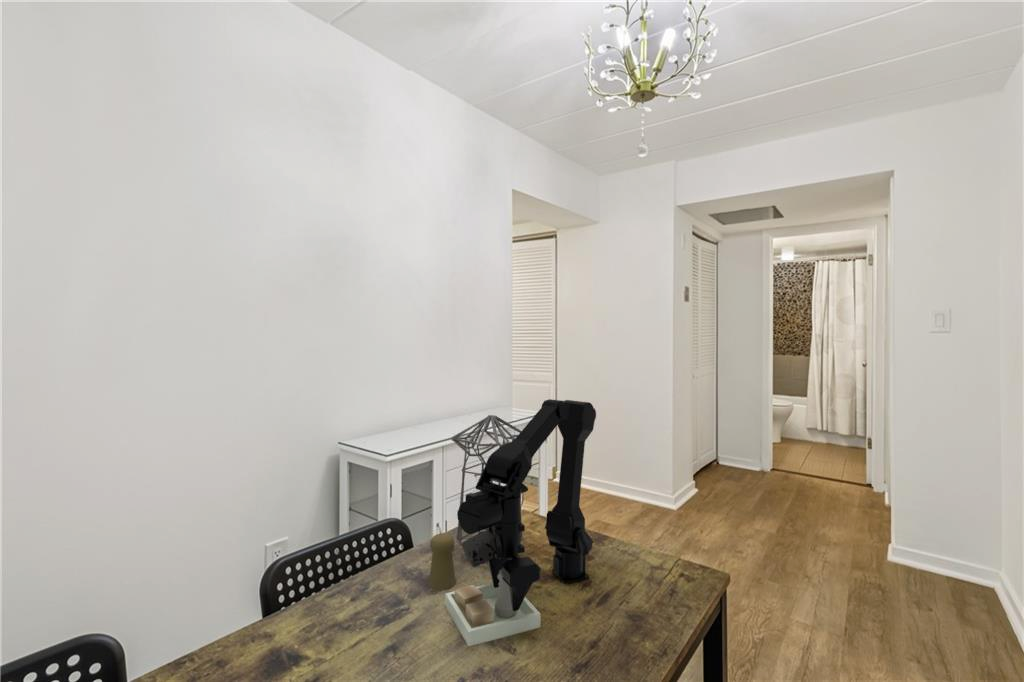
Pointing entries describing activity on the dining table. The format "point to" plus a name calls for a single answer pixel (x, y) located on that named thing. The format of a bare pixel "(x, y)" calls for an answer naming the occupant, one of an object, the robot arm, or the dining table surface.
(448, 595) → the tray
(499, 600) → the rook chess piece
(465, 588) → the beech block
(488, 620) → the beech block
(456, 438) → the geometric lantern
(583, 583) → the dining table surface
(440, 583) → the cork
